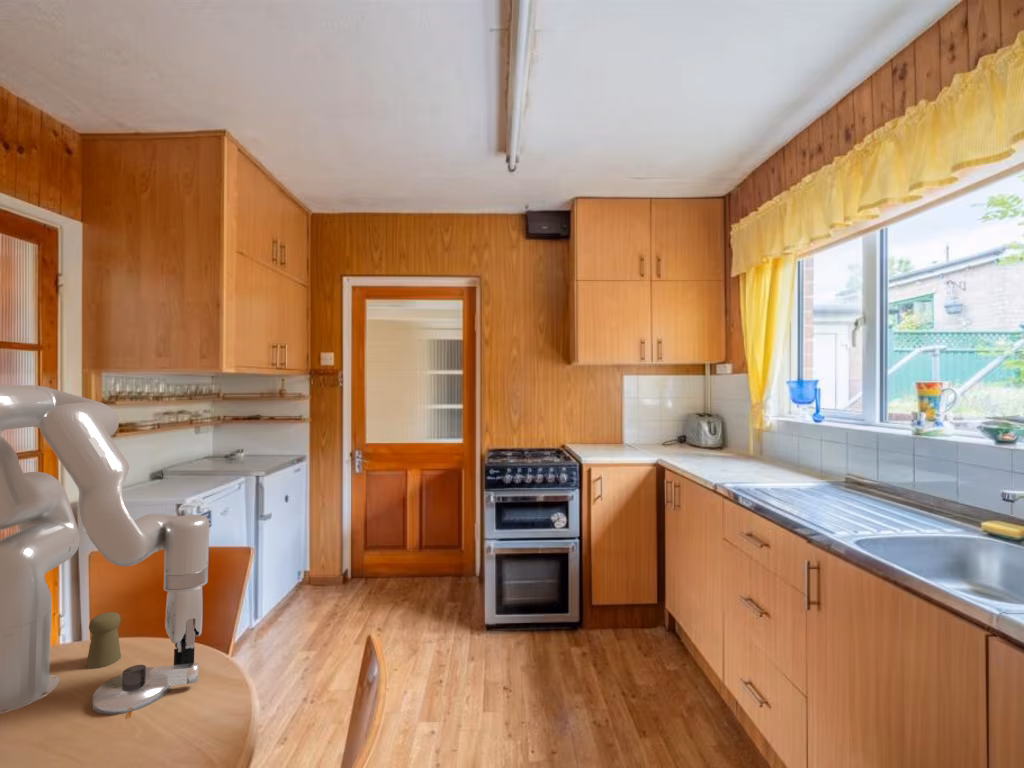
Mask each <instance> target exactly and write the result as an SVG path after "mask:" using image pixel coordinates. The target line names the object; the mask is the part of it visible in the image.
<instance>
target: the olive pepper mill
mask: <svg viewBox="0 0 1024 768" xmlns="http://www.w3.org/2000/svg"><path fill="white" fill-rule="evenodd" d="M121 619H122V618H121V616H120V614H119V613H118V612H115V611H110V612H104V613H100V614H98V615H96V616H94V617H93V618H92V619H91V620H90V622H89V625H88V630H89V632H90V633H91V639H90V642H89V648H88V654H87V659H86V668H88V669H92V670H93V669H102V668H106V667H108V666H111V665H113V664H115V663H117V662H118V661H119V660H121V658H122V654H121V645H120V639H119V632H118V628H119V626H120V623H121Z"/></svg>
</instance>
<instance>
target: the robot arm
mask: <svg viewBox="0 0 1024 768" xmlns="http://www.w3.org/2000/svg"><path fill="white" fill-rule="evenodd" d="M119 424H120V422H119V417H118V415H117V413H116V412H115V410H114V409H113V408H112V407H110V406H109V405H108V404H105V403H103V402H100V401H97V400H94V399H90V398H87V397H83V396H80V395H75V394H73V393H69V392H65V391H62V390H59V389H55V388H51V387H47V386H41V385H33V384H31V385H30V384H29V385H28V384H27V385H19V384H18V385H16V384H15V385H14V384H13V385H11V384H10V385H9V384H8V385H3V384H0V531H3V530H7V529H10V528H12V527H15V526H17V527H18V531H17V532H14V533H11V534H9V535H7V536H4V537H2V538H0V714H4V713H7V712H11V711H13V710H14V711H15V710H19V709H20V708H23V707H25V706H28V705H30V704H33V703H35V702H37V701H38V700H40V699H43V698H44V697H47V695H49V694H51V693H52V692H53V690H55V689H56V688H57V687H58V685H59V684H60V678H59V677H58V676H57V675H54V674H52V673H51V674H50V662H51V661H50V657H51V656H50V655H51V631H52V630H51V629H52V626H51V625H52V595H51V591H50V588H49V587H48V584H47V582H46V579H45V575H46V574H47V573H49V571H51V570H53V569H56V568H57V567H58V566H60V565H62V564H64V563H65V562H67V561H68V560H70V559H71V558H72V557H73V556H74V555H75V554H76V553H77V551H78V549H79V546H80V541H81V537H80V536H81V535H80V531H79V527H78V524H77V521H76V518H75V515H74V512H73V509H72V506H71V504H70V500H69V497H68V495H67V491H66V489H65V487H64V486H63V484H62V483H61V481H59V480H58V479H57V478H56V477H54V476H53V475H51V474H49V473H46V472H43V471H42V472H41V471H28V472H27V471H26V472H23V468H22V467H21V464H20V462H19V458H18V454H17V453H16V450H15V449H14V448H13V447H12V445H11V444H10V442H8V441H7V440H6V439H4V437H3V436H2V432H4V431H7V430H16V429H23V428H38V429H39V431H40V433H41V436H43V438H44V440H45V442H46V443H47V444H48V446H49V448H50V449H51V450H52V452H53V453H54V455H55V456H56V458H57V459H58V460H59V462H60V463H61V464H62V466H63V468H64V469H65V470H66V472H67V473H68V475H69V476H70V478H71V479H72V481H73V482H74V484H75V486H76V487H77V490H78V508H79V513H80V514H79V515H80V520H81V524H82V526H83V529H84V532H85V533H86V535H87V537H88V538H89V539H90V541H91V542H92V544H93V546H95V549H97V551H98V552H99V553H100V554H101V556H102V557H103V558H104V559H105V560H106V561H107V562H109V563H111V564H113V565H115V566H118V567H131V566H135V565H137V564H140V563H142V562H143V561H144V560H145V559H147V558H149V557H150V556H152V555H153V554H154V553H157V552H159V551H162V550H163V551H164V555H163V556H164V560H163V566H164V567H163V591H165V592H167V593H166V603H165V604H166V605H165V618H164V629H165V631H166V634H167V636H168V638H169V640H170V642H171V643H172V644H174V649H173V665H180V664H191V663H195V641H196V640H195V639H196V638H195V637H197V638H199V637H200V636H201V635H202V631H203V587H204V586H205V585H206V584H207V583H208V581H209V546H210V544H209V543H210V521H209V518H207V516H205V515H203V514H185V515H181V516H180V515H173V514H172V515H171V514H164V513H149V514H145V515H142V516H141V517H139V518H137V519H134V518H133V516H132V515H131V514H130V511H128V509H127V506H126V505H125V501H124V498H123V487H124V484H125V481H126V479H127V475H128V473H129V469H130V466H129V462H128V461H127V459H126V458H125V457H124V455H123V453H122V452H121V451H120V448H119V447H118V446H117V445H116V443H115V441H114V440H113V438H112V436H113V435H115V433H116V431H117V430H118V428H119ZM44 693H45V694H44Z"/></svg>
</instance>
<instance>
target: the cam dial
mask: <svg viewBox="0 0 1024 768" xmlns="http://www.w3.org/2000/svg"><path fill="white" fill-rule="evenodd" d="M198 680H199V663H198V662H194V663H191V664H180V665H174V664H172V665H171V664H170V665H159V666H150V667H147V666H146V665H145V664H136V665H132V666H129V667H127V668H125V669H124V670H123V671H122V673H121V674H119V675H117V676H114V677H112V678H110V679H109V680H107V681H105V682H104V683H103V684H101V685H100V686H99V687H98V688H96V690H95V691H94V693H93V695H92V710H93V711H94V712H96V713H98V714H100V715H106V716H107V715H109V716H112V715H121V714H127V713H128V712H131V711H132V712H134V711H136V710H139V709H142V708H144V707H146V706H148V705H151V704H153V703H154V702H156V701H157V700H159V699H161V698H162V697H164V696H165V695H166V694H167V693H168V692H169V690H171V687H172V686H176V685H185V684H187V685H191V684H194V683H196V682H198Z"/></svg>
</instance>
